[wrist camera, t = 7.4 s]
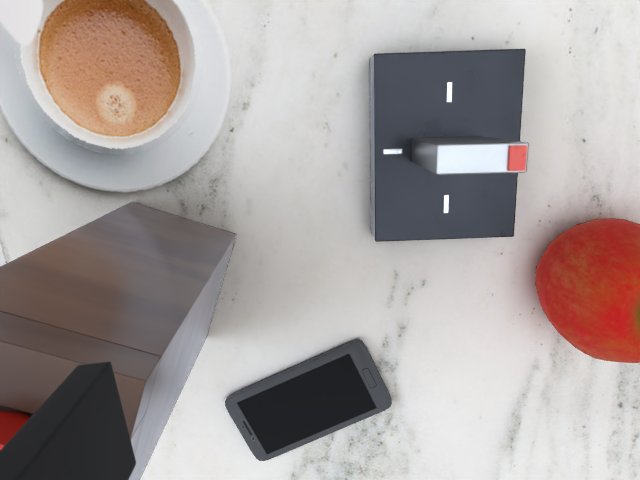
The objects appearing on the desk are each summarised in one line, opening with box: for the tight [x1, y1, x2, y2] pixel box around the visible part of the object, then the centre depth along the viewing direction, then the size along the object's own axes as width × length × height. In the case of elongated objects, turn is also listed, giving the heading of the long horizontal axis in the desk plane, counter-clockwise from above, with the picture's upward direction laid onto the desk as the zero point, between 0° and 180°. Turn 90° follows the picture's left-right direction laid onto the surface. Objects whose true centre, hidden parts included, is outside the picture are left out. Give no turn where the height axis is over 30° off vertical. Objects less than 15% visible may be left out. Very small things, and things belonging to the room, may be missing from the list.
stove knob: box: [411, 137, 529, 175], centre depth 34 cm, size 6×2×8 cm, turn 91°
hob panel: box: [369, 49, 525, 242], centre depth 39 cm, size 14×11×3 cm
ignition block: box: [0, 202, 237, 480], centre depth 31 cm, size 10×9×24 cm
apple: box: [535, 218, 640, 363], centre depth 38 cm, size 11×11×11 cm
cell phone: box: [225, 340, 392, 461], centre depth 46 cm, size 7×14×1 cm, turn 116°
